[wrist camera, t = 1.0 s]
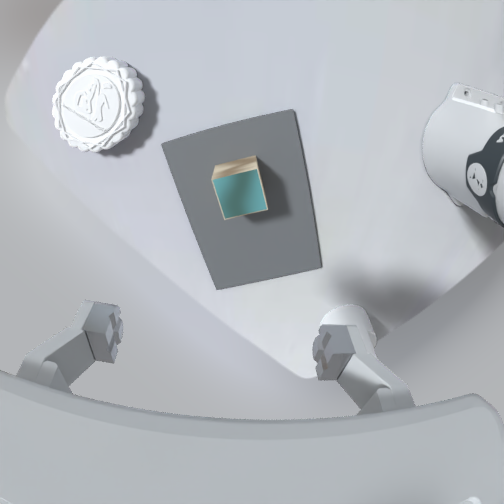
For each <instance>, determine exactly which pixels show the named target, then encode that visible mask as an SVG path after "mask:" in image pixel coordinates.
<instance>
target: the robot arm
mask: <svg viewBox="0 0 504 504" xmlns="http://www.w3.org/2000/svg"><path fill="white" fill-rule="evenodd" d="M464 92H465V93H466V94H465V95H464ZM422 149H423V160H424V164H425V168H426V170H427V173H428V175H429V176H430V178H431V179H432V181H433V182H434V183H435V184H436V185H437V186H439V187H440V188H442V189H443V190H445V191H446V192H447V193H448V194H449V196H450V198H451V200H452V201H453V202H454V203H455V204H457V205H458V206H462V205H464V204H465V205H467V206H468V207H470V208H471V209H473V210H474V211H476V212H477V213H479V214H480V215H482V216H484V217H488V216H489V217H490V218H491V219H492V220H493V221H494V222H496V223H498V224H499V225H501V226H502V227H504V98H503V97H500V96H497V95H495V94H492V93H489V92H486V91H483V90H480V89H476V88H473V87H470V86H467V85H463V84H460V83H455V84H453V85H452V87H451V89H450V91H449V93H448V96H447V98H446V100H445V101H444V102H443V103H442V104H441V105H440V106H439V107H438V108H437V109H436V110H435V112H434V113H433V114H432V116H431V118H430V119H429V121H428V124H427V126H426V129H425V133H424V137H423V147H422ZM120 313H121V311H120V307H119V306H117V305H112V304H106V303H101V302H94V301H89V300H84V301H83V302H82V304H81V306H80V308H79V310H78V312H77V314H76V316H75V318H74V320H73V322H72V324H71V326H70V328H69V327H66V328H65V329H63V330H62V331H60V332H58V333H57V334H55V335H54V336H52V337H51V338H49V339H48V340H46V341H45V342H43V343H42V344H40V345H39V346H37V347H36V348H34V349H33V350H31V351H30V352H28V353H27V354H26V356H25V358H24V360H23V363H22V365H21V367H20V369H19V371H18V373H17V375H16V376H14V375H12V374H9V373H7V372H4V371H1V370H0V504H504V424H503V422H502V419H501V417H500V415H499V413H498V411H497V410H496V409H495V408H494V407H493V406H492V405H491V404H490V403H488V402H487V401H486V400H485V399H483V398H482V397H481V396H479V395H478V394H468V395H464V396H460V397H457V398H452V399H448V400H444V401H440V402H435V403H431V404H426V405H421V406H415V404H414V401H413V398H412V396H411V393H410V391H409V388H408V386H407V384H406V383H405V382H403V381H402V380H401V379H400V378H399V377H398V376H396V375H395V374H394V373H393V372H392V371H391V370H389V369H388V368H387V367H386V366H385V365H383V364H382V363H381V362H380V361H379V360H378V359H377V358H375V357H374V356H373V355H372V354H371V353H367V350H366V348H365V345H364V342H363V340H362V337H361V335H360V332H359V330H358V327H357V326H356V325H334V324H322V325H321V326H320V329H319V334H320V335H319V336H317V337H316V338H315V340H314V343H313V349H312V350H313V358H314V360H315V361H316V362H317V363H318V364H317V366H316V372H317V376H318V380H337V382H338V383H339V384H340V385H341V387H342V388H343V389H344V390H345V391H346V392H347V394H348V395H349V396H350V397H351V398H352V399H353V401H354V402H355V403H356V404H357V405H358V406H359V408H360V409H361V411H360V412H359V413H358V414H357V415H355V416H344V417H332V418H317V419H296V420H294V419H293V420H251V419H250V420H249V419H226V418H211V417H200V416H189V415H180V414H172V413H164V412H157V411H151V410H145V409H138V408H133V407H127V406H122V405H117V404H112V403H108V402H103V401H98V400H94V399H90V398H86V397H82V396H78V395H74V394H73V393H72V392H71V390H70V388H69V385H71V383H73V382H74V381H75V380H76V379H77V378H78V377H79V376H80V375H81V374H82V373H83V372H84V371H85V370H86V369H88V367H90V366H91V365H92V364H93V363H94V362H95V360H96V361H102V362H108V363H114V361H115V359H116V355H117V352H118V349H117V345H118V344H119V343H120V342H121V339H122V335H123V322H122V320H121V319H120V318H119V316H120Z"/></svg>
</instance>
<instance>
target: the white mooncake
mask: <svg viewBox="0 0 504 504" xmlns="http://www.w3.org/2000/svg"><path fill="white" fill-rule="evenodd" d="M142 86H143V84H142V81H141V80H140V79H139V78H137V73H136V70H135V69H133V68H131V67H128V64H127V63H126V62H125V61H123V60H116V59H115V58H114V57H89V58H87V59H86V60H85V61H84V62H77V63H75V64H74V66H73V67H72V69H71V70H68V71H66V72H65V73H64V75H63V78H62V80H61V81H60V82H59V83H58V84H57V86H56V93H55V94H54V96H53V99H52V103H53V105H54V107H53V109H52V116H53V117H54V118H55V123H54V124H55V128H56V129H57V130H59V131H60V136H61V138H62V139H63V140H66V141H68V143H69V145H70V146H71V147H73V148H77V147H78V148H79V149H80V150H81V151H82V152H87V151H89V150H90V151H92V152H94V153H97V152H99V151H101V150H102V149H105V150H107V149H110V148H112V147H113V146H115V145H116V144H118V143H119V142H120V141H122V140H123V139H125V138H127V137H128V136H129V135H130V133H131V130H132V129H134V128H135V127H136V126H137V125H138V122H139V119H138V117H139V116H141V115H142V113H143V105H142V103H143V101H144V99H145V94H144V92H143V91H142V90H141V89H142Z"/></svg>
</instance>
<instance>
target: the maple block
mask: <svg viewBox="0 0 504 504" xmlns="http://www.w3.org/2000/svg"><path fill="white" fill-rule="evenodd" d="M211 180H212V183H213V186H214V189H215V192H216V196H217V199H218V202H219V205H220V208H221V211H222V214H223V217H224V220H226V219H230V218H234V217H238V216H243V215H247V214H251V213H256V212H260V211H264V210H268V206H267V201H266V195H265V190H264V186H263V182H262V178H261V174H260V170H259V166H258V162H257V158H256V155H255V156H251V157H247V158H243V159H238V160H235V161H231V162H227V163H223V164H219V165H215V168H214V172H213V175H212V179H211Z"/></svg>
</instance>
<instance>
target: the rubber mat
mask: <svg viewBox="0 0 504 504" xmlns="http://www.w3.org/2000/svg"><path fill="white" fill-rule="evenodd" d="M161 145H162V148H163V151H164V154H165V157H166V159H167V162H168V165H169V168H170V171H171V173H172V176H173V179H174V182H175V184H176V187H177V190H178V193H179V195H180V198H181V201H182V203H183V206H184V209H185V211H186V214H187V217H188V219H189V222H190V224H191V227H192V230H193V232H194V235H195V237H196V240H197V242H198V245H199V247H200V250H201V253H202V255H203V258H204V260H205V263H206V265H207V268H208V270H209V272H210V275H211V277H212V280H213V282H214V285H215V287H216V290H219V289H224V288H229V287H234V286H239V285H244V284H249V283H254V282H259V281H263V280H268V279H273V278H277V277H282V276H287V275H291V274H296V273H300V272H305V271H309V270H314V269H318V268H321V262H320V255H319V248H318V241H317V235H316V228H315V222H314V216H313V210H312V204H311V198H310V192H309V186H308V181H307V175H306V170H305V165H304V160H303V154H302V149H301V144H300V139H299V135H298V130H297V125H296V120H295V116H294V111H293V109H291V110H286V111H281V112H276V113H271V114H266V115H262V116H258V117H253V118H249V119H245V120H241V121H237V122H233V123H229V124H225V125H221V126H218V127H214V128H211V129H207V130H204V131H200V132H197V133H193V134H190V135H187V136H184V137H180V138H177V139H174V140H171V141H168V142H165V143H162V144H161ZM255 155H256V158H257V162H258V166H259V170H260V174H261V178H262V182H263V186H264V190H265V195H266V201H267V206H268V210H264V211H260V212H256V213H251V214H247V215H243V216H238V217H234V218H230V219H226V220H224V217H223V214H222V211H221V208H220V205H219V202H218V199H217V196H216V192H215V189H214V186H213V183H212V180H211V179H212V175H213V172H214V168H215V165H219V164H223V163H227V162H231V161H235V160H238V159H243V158H247V157H251V156H255Z"/></svg>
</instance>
